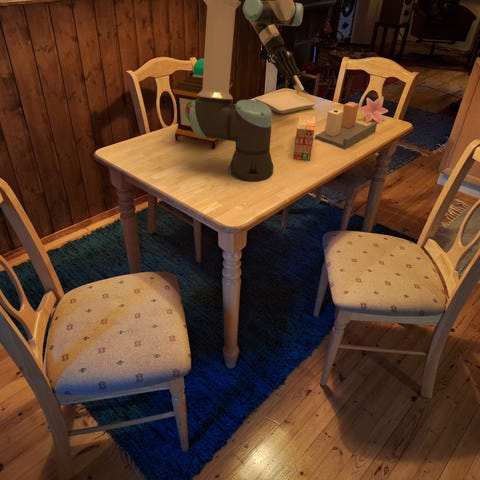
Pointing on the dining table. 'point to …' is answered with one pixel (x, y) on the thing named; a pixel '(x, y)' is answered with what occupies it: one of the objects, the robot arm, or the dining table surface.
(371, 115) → the lily
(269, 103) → the salad plate
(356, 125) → the tray
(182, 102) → the decorative lantern
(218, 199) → the dining table surface
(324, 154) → the dining table surface
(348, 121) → the key two
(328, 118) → the key one
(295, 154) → the stack of blocks
